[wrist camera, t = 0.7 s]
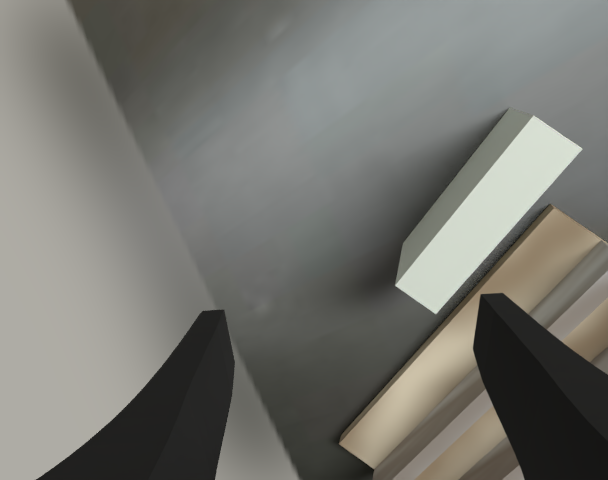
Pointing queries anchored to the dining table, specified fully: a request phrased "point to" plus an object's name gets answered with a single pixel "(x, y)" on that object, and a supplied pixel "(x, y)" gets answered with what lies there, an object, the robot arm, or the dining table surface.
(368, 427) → the door track base
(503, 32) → the dining table surface
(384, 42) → the dining table surface
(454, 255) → the door panel
